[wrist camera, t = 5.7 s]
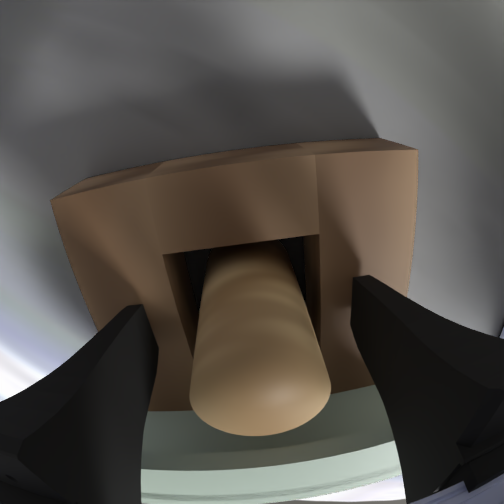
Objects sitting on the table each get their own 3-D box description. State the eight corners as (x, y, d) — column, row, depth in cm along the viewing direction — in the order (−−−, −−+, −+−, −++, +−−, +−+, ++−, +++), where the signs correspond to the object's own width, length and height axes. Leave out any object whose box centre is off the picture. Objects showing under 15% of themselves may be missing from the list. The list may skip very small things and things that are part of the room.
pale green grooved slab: (374, 305, 15) (441, 424, 8) (367, 360, 17) (413, 470, 10) (136, 335, 15) (97, 464, 8) (158, 386, 17) (138, 502, 10)
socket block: (380, 137, 12) (418, 149, 9) (367, 360, 17) (384, 399, 14) (85, 178, 12) (50, 200, 9) (158, 386, 17) (150, 427, 14)
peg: (287, 224, 13) (334, 339, 7) (292, 298, 15) (327, 426, 8) (199, 235, 13) (172, 358, 7) (214, 308, 15) (206, 440, 8)
